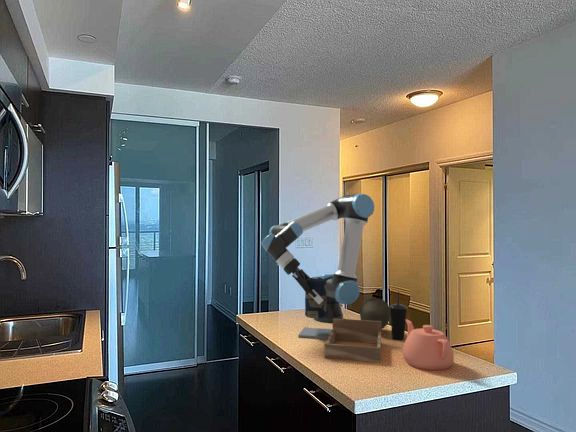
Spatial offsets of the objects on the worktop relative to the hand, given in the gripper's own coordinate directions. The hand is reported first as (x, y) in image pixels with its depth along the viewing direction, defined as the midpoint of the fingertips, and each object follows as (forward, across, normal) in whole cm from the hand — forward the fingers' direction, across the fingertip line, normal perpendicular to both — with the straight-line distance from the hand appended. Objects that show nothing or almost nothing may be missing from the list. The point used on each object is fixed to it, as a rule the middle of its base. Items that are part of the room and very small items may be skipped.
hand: (322, 300), depth 195 cm
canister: (+3, 0, -8) cm, 9 cm away
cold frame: (+22, +20, 0) cm, 29 cm away
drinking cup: (+34, -2, +12) cm, 36 cm away
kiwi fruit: (+27, -12, +5) cm, 30 cm away
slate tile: (+9, 0, -12) cm, 15 cm away
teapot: (+40, +29, +18) cm, 53 cm away
